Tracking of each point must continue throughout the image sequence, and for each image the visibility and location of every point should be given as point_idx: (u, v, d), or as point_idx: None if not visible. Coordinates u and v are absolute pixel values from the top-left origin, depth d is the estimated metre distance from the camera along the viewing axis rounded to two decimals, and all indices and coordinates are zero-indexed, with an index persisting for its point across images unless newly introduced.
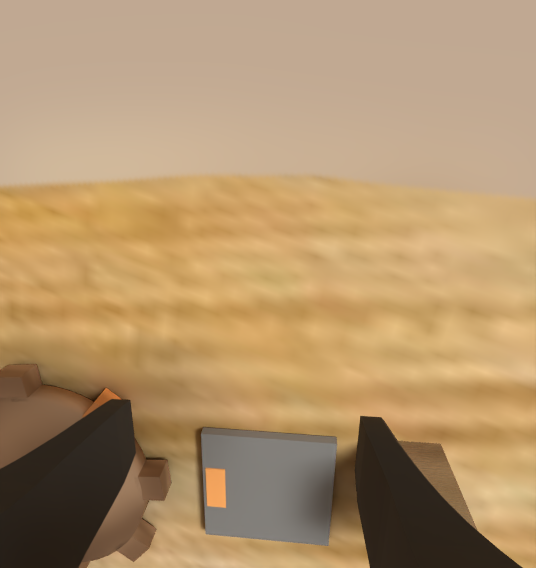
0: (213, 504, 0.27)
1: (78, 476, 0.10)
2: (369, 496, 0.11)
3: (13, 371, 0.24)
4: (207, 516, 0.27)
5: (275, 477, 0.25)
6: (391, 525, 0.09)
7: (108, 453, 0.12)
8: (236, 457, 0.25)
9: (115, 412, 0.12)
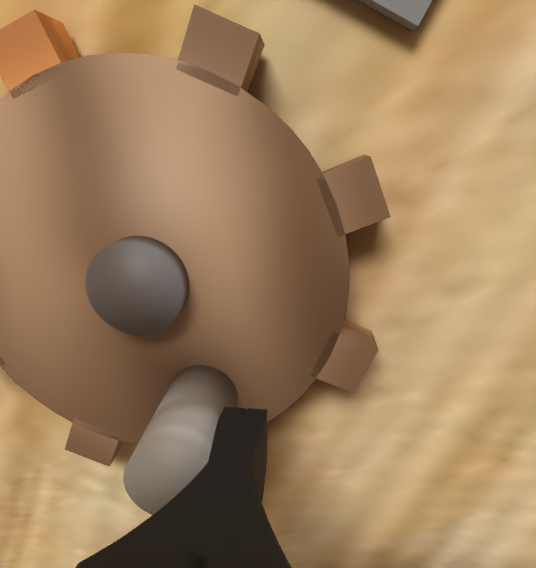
0: None
1: None
2: None
3: None
4: None
5: None
6: None
7: (259, 465, 0.11)
8: None
9: (263, 423, 0.12)
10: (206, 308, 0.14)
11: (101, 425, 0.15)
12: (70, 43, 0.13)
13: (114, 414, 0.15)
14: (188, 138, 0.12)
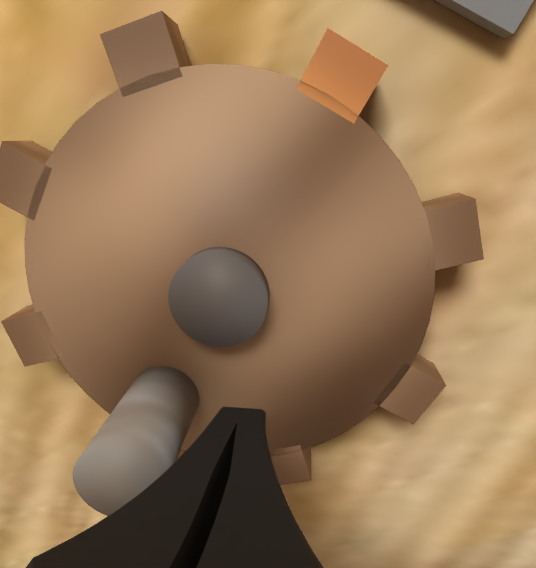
0: None
1: (218, 488, 0.10)
2: None
3: None
4: None
5: None
6: None
7: None
8: None
9: (237, 421, 0.12)
10: (241, 352, 0.14)
11: (57, 337, 0.14)
12: None
13: (79, 341, 0.14)
14: (369, 256, 0.12)
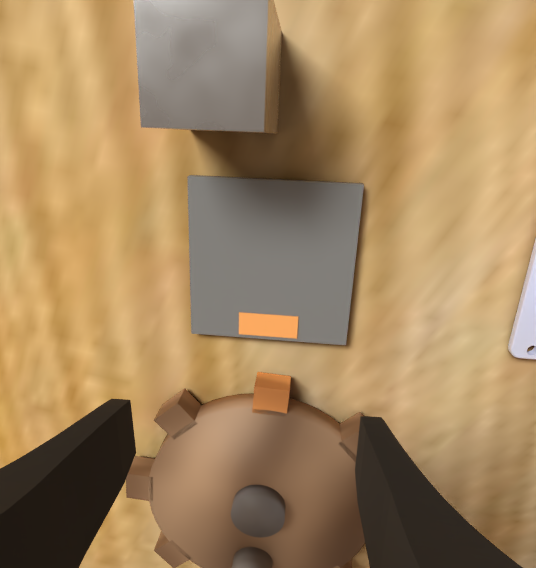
0: (295, 330, 0.21)
1: (78, 476, 0.10)
2: (369, 496, 0.11)
3: (169, 404, 0.23)
4: (315, 339, 0.21)
5: (246, 253, 0.20)
6: (391, 525, 0.09)
7: (108, 453, 0.12)
8: (220, 297, 0.21)
9: (115, 412, 0.12)
10: (282, 529, 0.24)
11: (185, 549, 0.26)
12: None
13: (196, 548, 0.26)
14: (324, 467, 0.23)
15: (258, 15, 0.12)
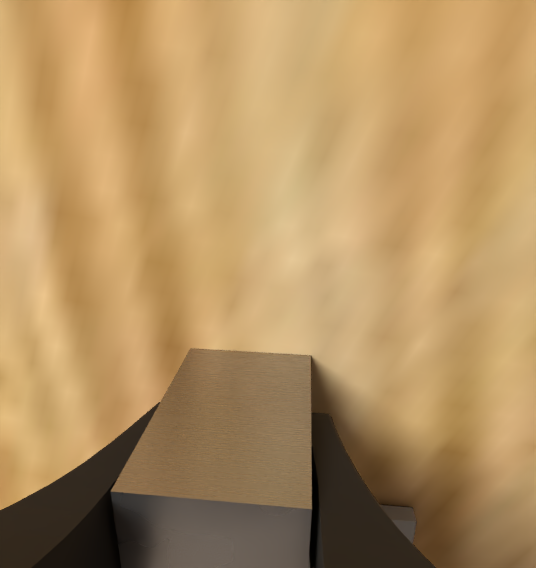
0: None
1: None
2: None
3: None
4: None
5: None
6: (317, 519, 0.09)
7: None
8: None
9: None
10: None
11: None
12: None
13: None
14: None
15: (295, 538, 0.08)
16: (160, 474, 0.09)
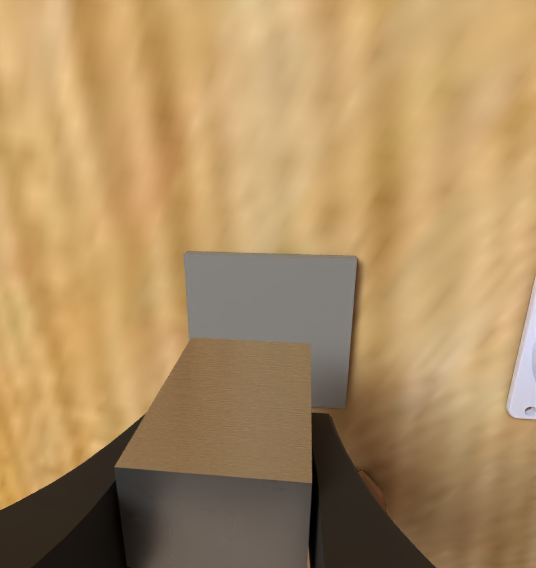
0: None
1: None
2: None
3: None
4: (315, 404, 0.22)
5: (244, 325, 0.21)
6: (317, 518, 0.09)
7: None
8: None
9: None
10: None
11: None
12: None
13: None
14: None
15: (295, 514, 0.08)
16: (162, 452, 0.09)
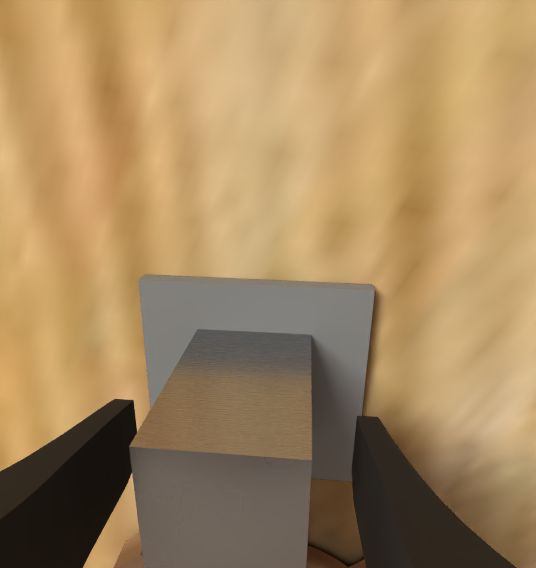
0: None
1: (82, 476, 0.10)
2: (365, 496, 0.11)
3: (131, 549, 0.18)
4: (315, 475, 0.17)
5: None
6: (386, 524, 0.09)
7: (112, 453, 0.12)
8: None
9: (118, 412, 0.12)
10: None
11: None
12: None
13: None
14: None
15: (297, 488, 0.09)
16: (173, 433, 0.10)
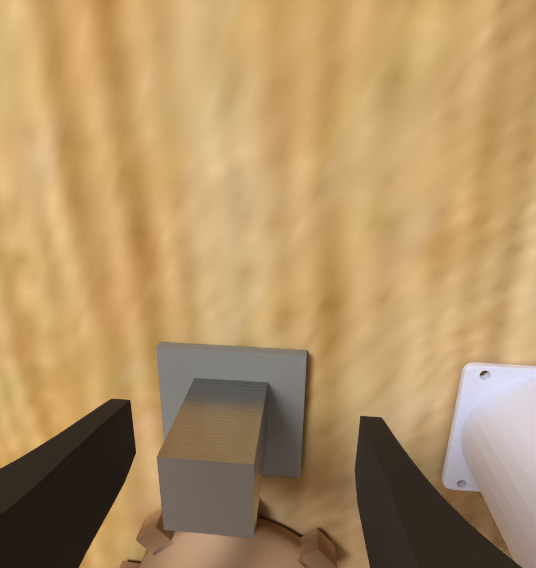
0: None
1: (78, 476, 0.10)
2: (369, 496, 0.11)
3: (149, 524, 0.26)
4: (273, 473, 0.24)
5: None
6: (391, 525, 0.09)
7: (108, 453, 0.12)
8: None
9: (115, 412, 0.12)
10: None
11: None
12: None
13: None
14: None
15: (246, 479, 0.17)
16: (180, 449, 0.18)
